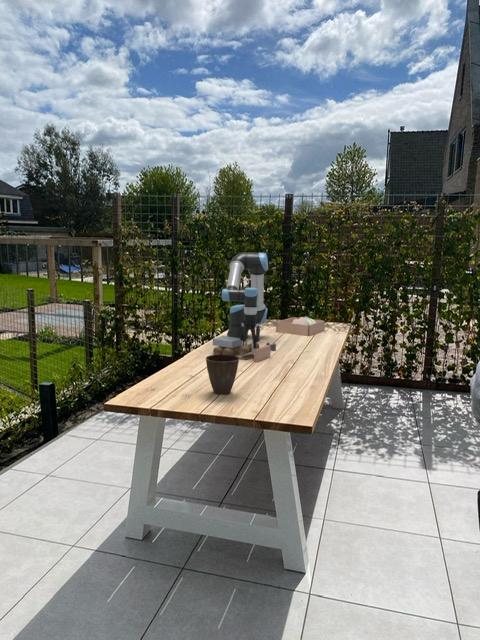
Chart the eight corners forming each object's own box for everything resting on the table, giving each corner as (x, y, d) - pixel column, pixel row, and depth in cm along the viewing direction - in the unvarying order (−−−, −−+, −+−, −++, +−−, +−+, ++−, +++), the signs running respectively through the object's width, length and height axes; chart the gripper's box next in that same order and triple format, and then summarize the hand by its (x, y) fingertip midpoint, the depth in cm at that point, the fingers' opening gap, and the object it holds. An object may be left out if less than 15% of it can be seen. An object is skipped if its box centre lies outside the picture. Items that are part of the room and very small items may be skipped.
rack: (267, 349, 316) (267, 342, 315) (275, 350, 313) (276, 343, 312) (255, 353, 302) (255, 346, 302) (263, 355, 299) (264, 347, 299)
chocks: (227, 350, 310) (227, 349, 310) (259, 355, 299) (259, 354, 299) (213, 354, 297) (213, 354, 297) (245, 360, 285) (246, 359, 285)
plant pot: (198, 391, 223) (199, 357, 220) (222, 385, 233) (223, 352, 231) (220, 399, 212) (221, 363, 210) (245, 392, 223) (246, 358, 220)
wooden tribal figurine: (285, 322, 395) (314, 314, 389) (290, 340, 392) (319, 332, 387) (282, 321, 381) (312, 312, 376) (287, 338, 379) (317, 330, 373)
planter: (292, 326, 405) (293, 317, 403) (324, 330, 391) (324, 320, 389) (276, 332, 379) (276, 321, 378) (308, 336, 365) (309, 325, 364)
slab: (223, 342, 309) (223, 335, 308) (242, 344, 302) (242, 338, 301) (212, 345, 299) (212, 338, 298) (231, 348, 292) (232, 341, 291)
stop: (267, 356, 296) (267, 345, 295) (270, 356, 295) (270, 345, 294) (254, 361, 282) (254, 349, 281) (257, 362, 281) (257, 350, 280)
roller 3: (252, 349, 301) (252, 342, 300) (259, 350, 298) (259, 343, 297) (238, 354, 287) (239, 346, 286) (245, 355, 285) (246, 347, 284)
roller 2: (236, 351, 307) (236, 343, 306) (243, 353, 304) (243, 345, 304) (222, 356, 294) (222, 347, 293) (229, 358, 291) (229, 349, 290)
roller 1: (227, 350, 310) (227, 342, 310) (234, 351, 308) (234, 343, 307) (213, 355, 297) (213, 346, 296) (220, 356, 294) (220, 347, 293)
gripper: (234, 313, 291) (233, 351, 294) (260, 316, 281) (259, 355, 285) (240, 311, 297) (239, 349, 300) (266, 314, 288) (265, 353, 291)
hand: (249, 352), depth 293 cm, fingers closed on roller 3, 5 cm apart
